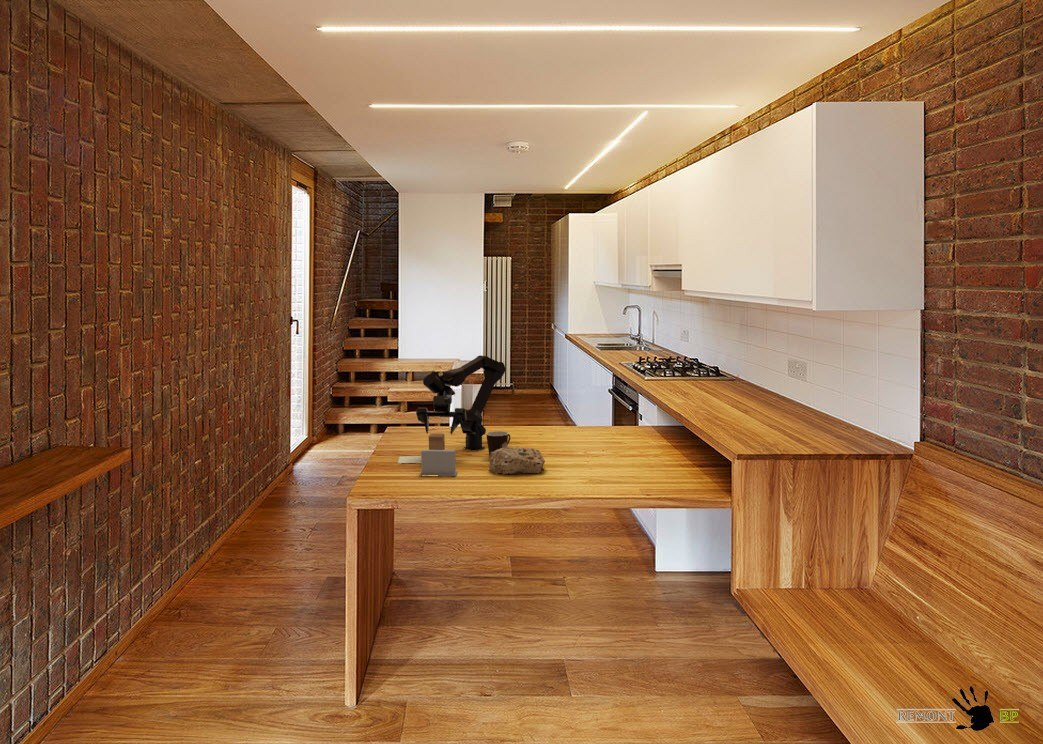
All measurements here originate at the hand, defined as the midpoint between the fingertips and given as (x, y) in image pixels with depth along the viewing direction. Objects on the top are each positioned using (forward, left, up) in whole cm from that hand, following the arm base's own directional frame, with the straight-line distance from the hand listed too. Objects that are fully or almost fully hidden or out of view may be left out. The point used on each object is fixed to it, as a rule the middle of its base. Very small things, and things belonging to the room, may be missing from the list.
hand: (439, 433), depth 283 cm
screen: (-10, +10, -12) cm, 19 cm away
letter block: (-4, +4, -12) cm, 14 cm away
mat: (+13, +2, -12) cm, 18 cm away
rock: (-28, -13, -13) cm, 33 cm away
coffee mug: (-11, -23, -12) cm, 28 cm away
